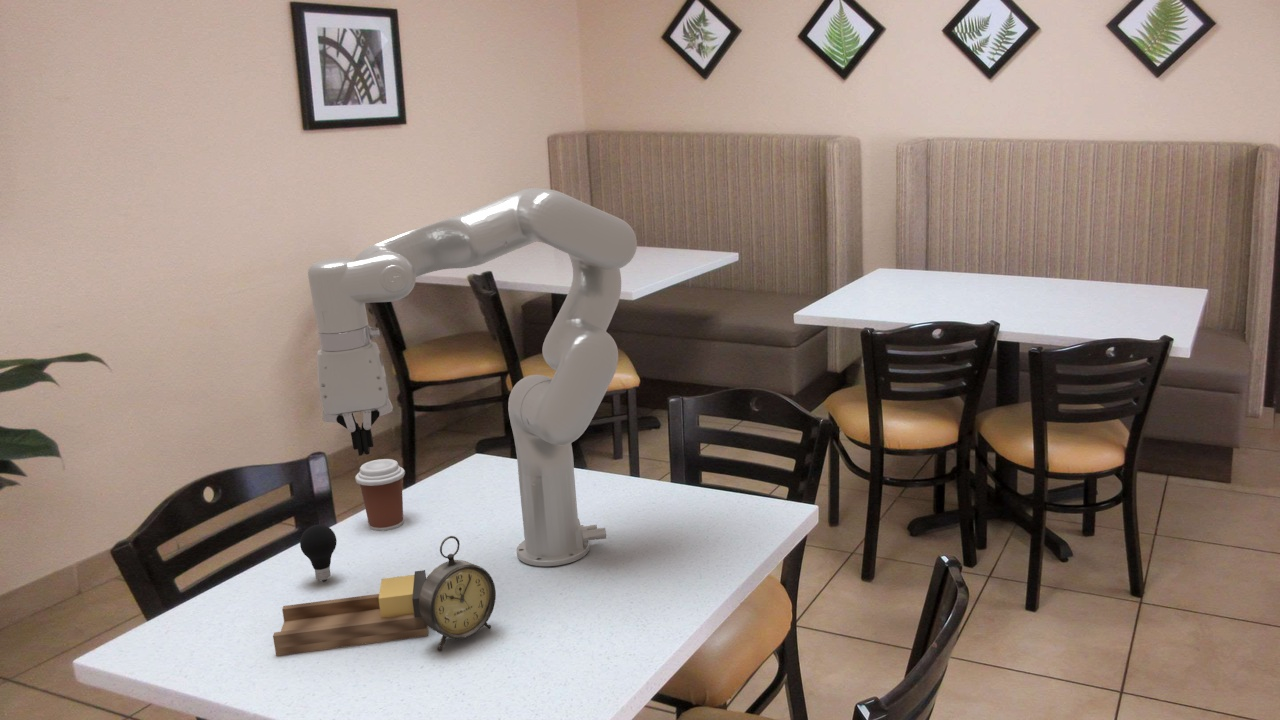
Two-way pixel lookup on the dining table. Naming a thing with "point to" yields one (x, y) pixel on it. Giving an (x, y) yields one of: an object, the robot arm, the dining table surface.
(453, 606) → the alarm clock
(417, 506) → the dining table surface
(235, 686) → the dining table surface
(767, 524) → the dining table surface
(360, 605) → the wooden tray
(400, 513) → the coffee cup
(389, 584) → the block
